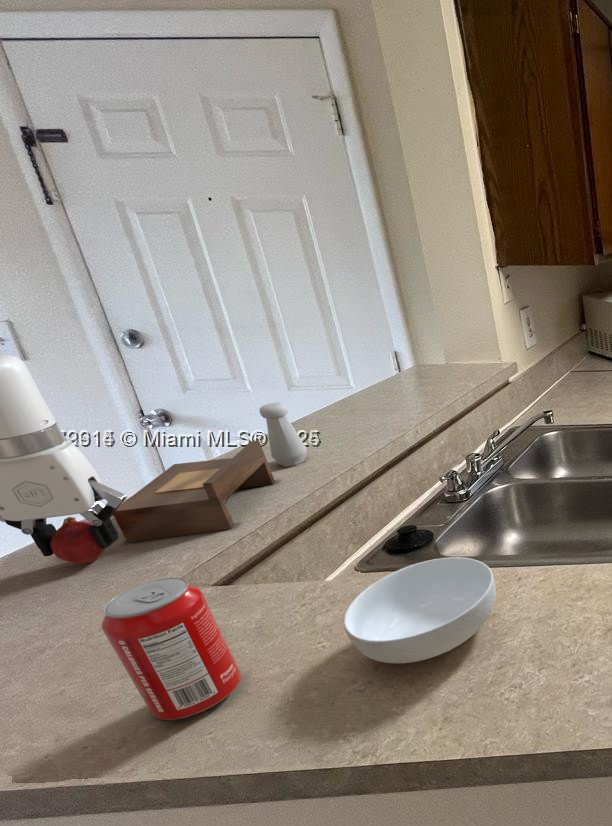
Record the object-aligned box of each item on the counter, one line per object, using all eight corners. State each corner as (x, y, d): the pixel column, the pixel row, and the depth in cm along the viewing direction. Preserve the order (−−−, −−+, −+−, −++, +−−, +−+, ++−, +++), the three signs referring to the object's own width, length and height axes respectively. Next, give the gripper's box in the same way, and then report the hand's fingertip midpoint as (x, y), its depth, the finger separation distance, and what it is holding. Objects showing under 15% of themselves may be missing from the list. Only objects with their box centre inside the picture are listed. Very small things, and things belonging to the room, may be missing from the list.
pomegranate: (111, 565, 95) (88, 521, 92) (58, 578, 92) (31, 533, 89) (122, 547, 99) (99, 505, 96) (71, 559, 96) (46, 515, 93)
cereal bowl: (450, 583, 92) (439, 544, 89) (530, 616, 85) (520, 575, 82) (329, 657, 78) (312, 613, 75) (413, 704, 71) (397, 658, 68)
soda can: (192, 730, 68) (134, 624, 62) (135, 719, 69) (71, 614, 63) (261, 677, 75) (214, 577, 69) (207, 668, 76) (157, 569, 70)
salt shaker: (290, 455, 131) (269, 399, 125) (317, 456, 131) (297, 399, 125) (268, 468, 125) (245, 409, 120) (295, 468, 125) (273, 410, 120)
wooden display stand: (127, 543, 101) (102, 495, 97) (186, 492, 116) (167, 449, 112) (231, 528, 105) (211, 482, 101) (275, 481, 120) (259, 440, 117)
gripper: (-85, 460, 81) (-12, 571, 89) (83, 444, 86) (138, 551, 94) (-36, 438, 88) (28, 544, 95) (117, 425, 93) (166, 526, 100)
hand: (82, 546), depth 94 cm, fingers closed on pomegranate, 5 cm apart
